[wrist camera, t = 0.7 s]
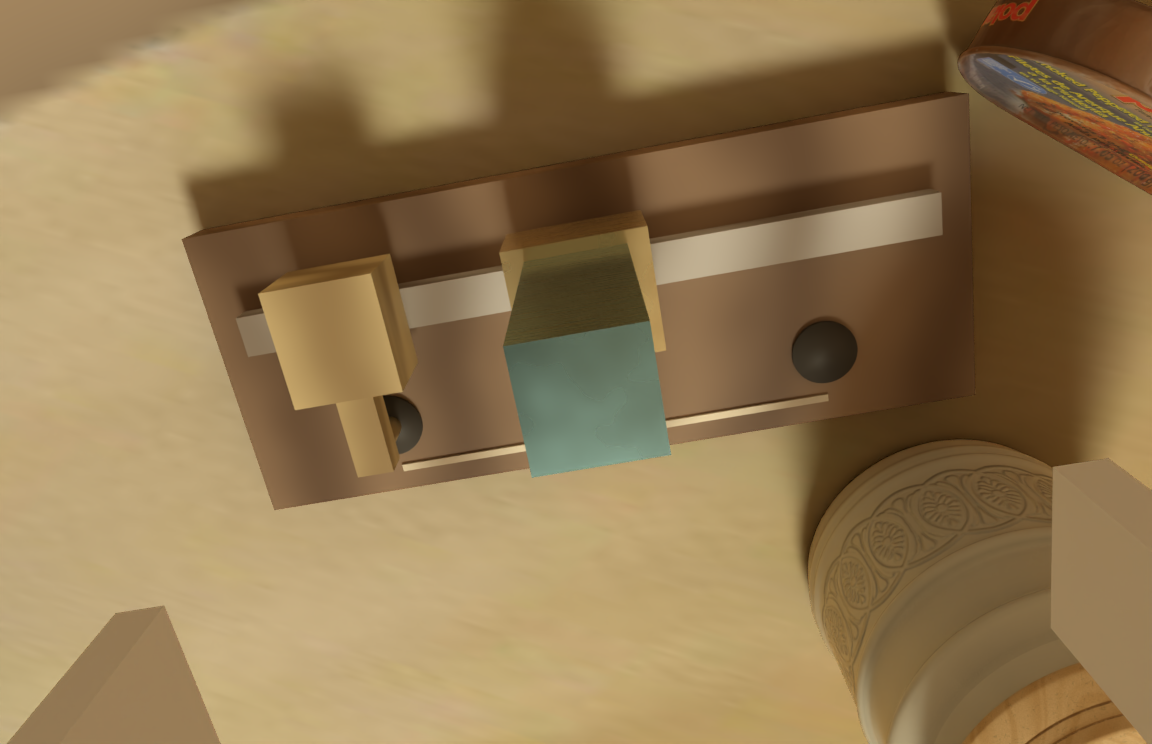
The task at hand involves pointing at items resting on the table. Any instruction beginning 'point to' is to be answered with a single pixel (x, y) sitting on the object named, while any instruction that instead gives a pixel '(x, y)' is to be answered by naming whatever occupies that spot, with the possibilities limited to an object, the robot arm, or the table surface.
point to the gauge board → (684, 284)
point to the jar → (952, 603)
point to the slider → (585, 343)
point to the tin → (1073, 76)
